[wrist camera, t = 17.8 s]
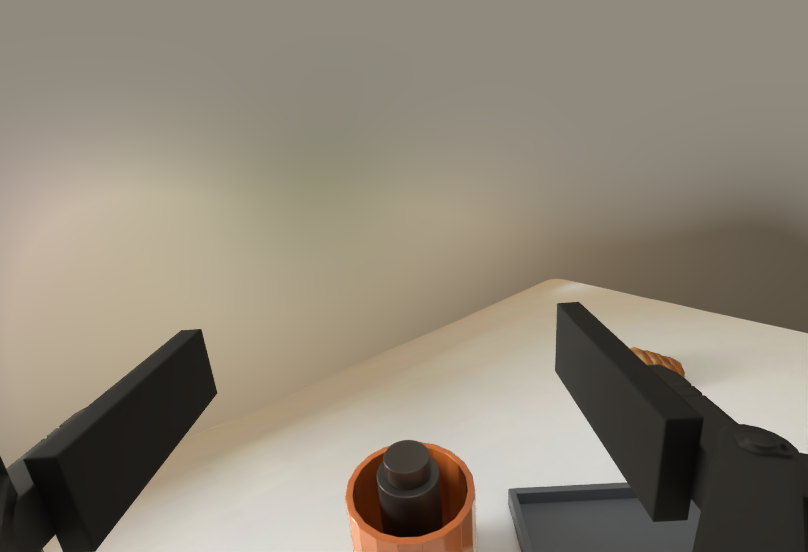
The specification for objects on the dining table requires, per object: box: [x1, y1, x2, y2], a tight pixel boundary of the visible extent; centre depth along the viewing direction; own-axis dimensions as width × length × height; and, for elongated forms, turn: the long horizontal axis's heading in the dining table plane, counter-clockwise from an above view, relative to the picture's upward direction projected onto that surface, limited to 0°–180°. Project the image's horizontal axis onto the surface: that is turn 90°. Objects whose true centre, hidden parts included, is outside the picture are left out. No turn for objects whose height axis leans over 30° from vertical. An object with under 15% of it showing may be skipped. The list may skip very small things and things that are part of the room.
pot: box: [345, 442, 477, 552], centre depth 31 cm, size 9×9×9 cm
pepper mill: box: [377, 440, 443, 537], centre depth 30 cm, size 4×4×11 cm
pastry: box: [630, 347, 685, 378], centre depth 55 cm, size 9×7×4 cm
